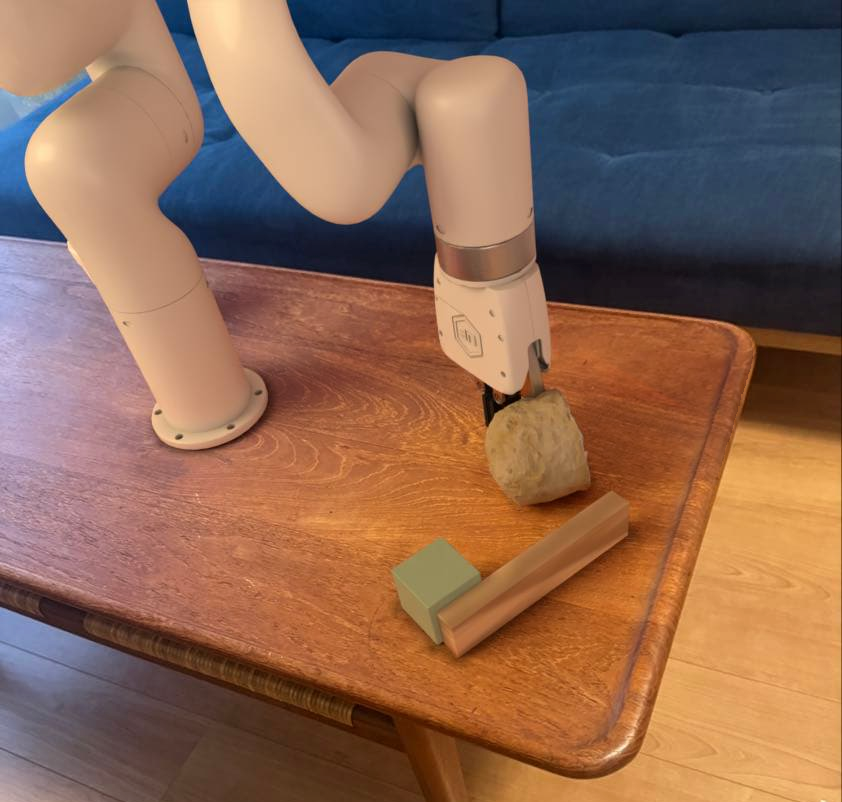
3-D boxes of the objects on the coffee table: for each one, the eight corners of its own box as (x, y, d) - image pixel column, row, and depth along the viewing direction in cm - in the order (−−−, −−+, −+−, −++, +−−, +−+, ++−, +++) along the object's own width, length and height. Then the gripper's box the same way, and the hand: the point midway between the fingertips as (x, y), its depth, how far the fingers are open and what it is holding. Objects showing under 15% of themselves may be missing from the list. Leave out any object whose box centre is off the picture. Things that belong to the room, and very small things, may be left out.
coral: (637, 449, 65) (521, 438, 62) (584, 529, 72) (479, 522, 69) (604, 369, 70) (497, 355, 68) (559, 451, 78) (460, 441, 75)
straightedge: (443, 641, 64) (435, 612, 61) (611, 522, 69) (611, 489, 66) (458, 658, 63) (451, 629, 60) (628, 535, 68) (629, 502, 65)
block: (401, 607, 67) (390, 569, 63) (449, 574, 69) (441, 535, 65) (437, 645, 64) (427, 608, 60) (487, 610, 66) (480, 572, 62)
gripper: (390, 232, 66) (425, 407, 79) (512, 302, 57) (527, 485, 71) (462, 193, 68) (484, 370, 82) (591, 255, 59) (591, 442, 73)
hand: (504, 423), depth 76 cm, fingers closed
